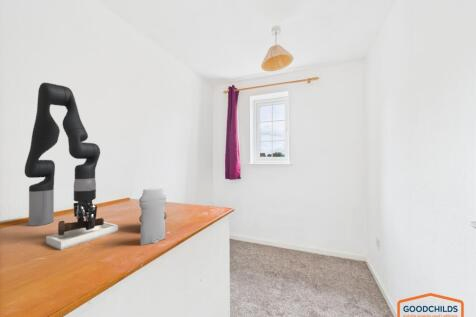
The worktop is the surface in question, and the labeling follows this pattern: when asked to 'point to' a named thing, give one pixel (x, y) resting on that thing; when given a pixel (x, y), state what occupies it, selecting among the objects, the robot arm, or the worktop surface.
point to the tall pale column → (152, 215)
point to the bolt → (77, 225)
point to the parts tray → (80, 236)
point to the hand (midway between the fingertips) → (84, 228)
